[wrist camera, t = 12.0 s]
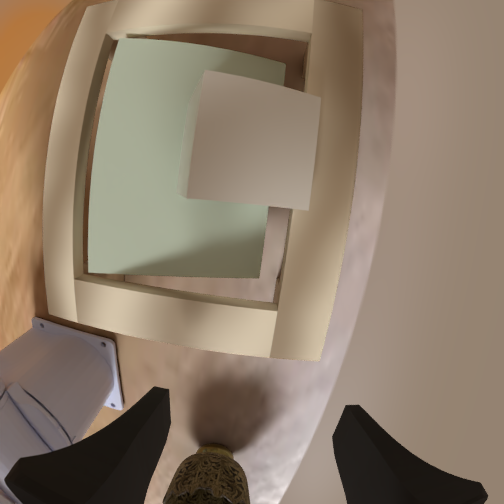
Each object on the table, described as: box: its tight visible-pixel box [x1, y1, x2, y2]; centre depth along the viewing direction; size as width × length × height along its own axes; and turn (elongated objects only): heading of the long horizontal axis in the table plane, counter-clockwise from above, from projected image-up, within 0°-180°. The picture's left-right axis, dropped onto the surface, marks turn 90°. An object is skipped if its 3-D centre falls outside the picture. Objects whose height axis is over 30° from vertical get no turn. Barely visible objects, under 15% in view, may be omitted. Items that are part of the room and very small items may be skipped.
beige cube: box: [176, 70, 321, 211], centre depth 12 cm, size 4×4×4 cm
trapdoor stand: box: [43, 0, 363, 361], centre depth 15 cm, size 15×18×7 cm
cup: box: [163, 443, 250, 504], centre depth 20 cm, size 8×7×8 cm
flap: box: [88, 38, 286, 278], centre depth 14 cm, size 10×12×3 cm
